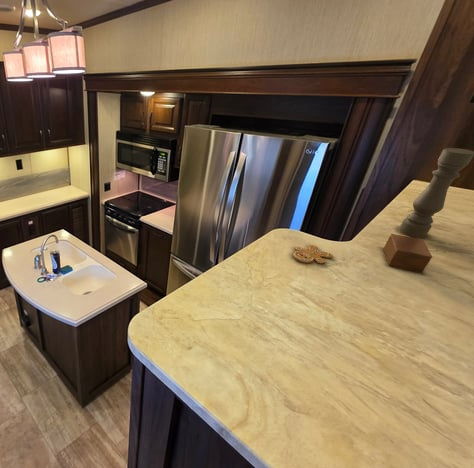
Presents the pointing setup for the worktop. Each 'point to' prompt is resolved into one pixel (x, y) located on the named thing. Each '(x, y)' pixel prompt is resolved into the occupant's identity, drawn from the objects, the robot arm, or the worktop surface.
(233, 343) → the worktop surface
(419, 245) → the brown wooden block
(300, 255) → the cookie
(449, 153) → the candle holder
